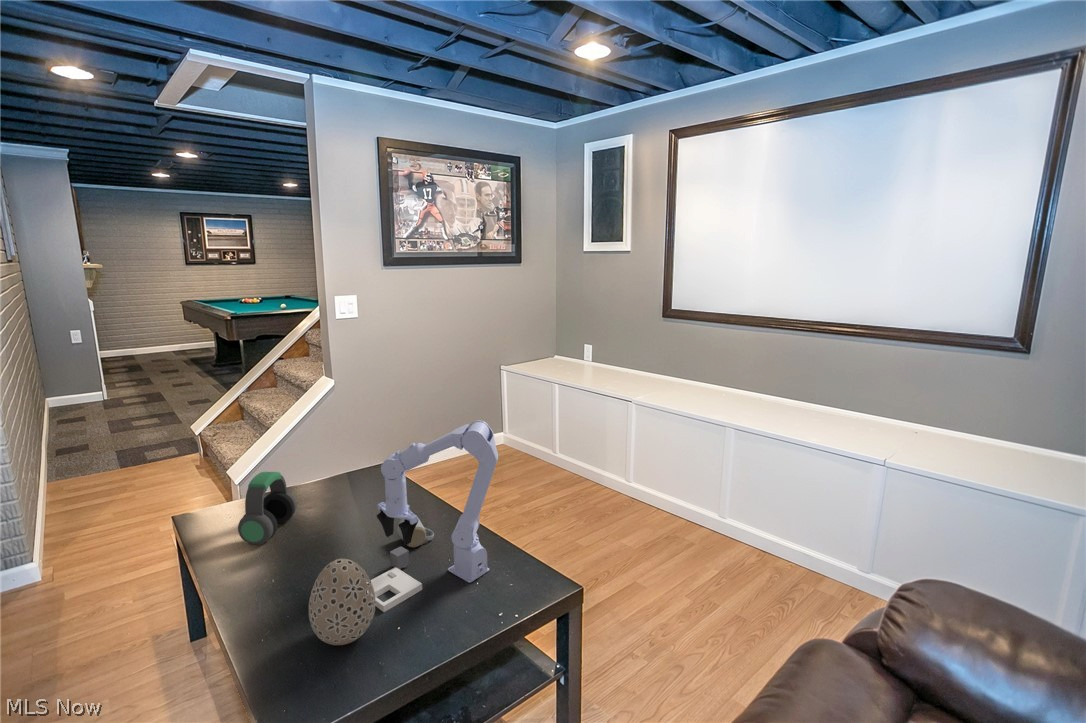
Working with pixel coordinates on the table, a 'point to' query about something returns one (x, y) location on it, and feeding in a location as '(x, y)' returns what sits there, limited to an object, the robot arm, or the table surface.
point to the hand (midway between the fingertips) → (398, 539)
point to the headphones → (265, 508)
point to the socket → (394, 588)
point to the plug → (399, 557)
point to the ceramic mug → (417, 534)
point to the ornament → (341, 603)
